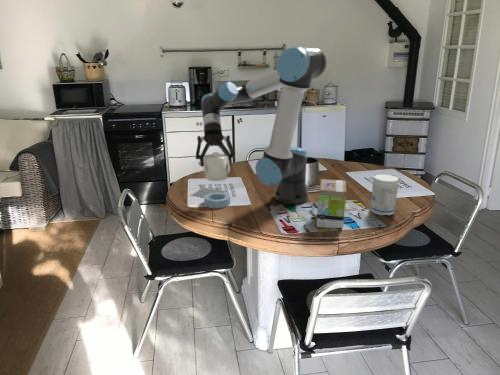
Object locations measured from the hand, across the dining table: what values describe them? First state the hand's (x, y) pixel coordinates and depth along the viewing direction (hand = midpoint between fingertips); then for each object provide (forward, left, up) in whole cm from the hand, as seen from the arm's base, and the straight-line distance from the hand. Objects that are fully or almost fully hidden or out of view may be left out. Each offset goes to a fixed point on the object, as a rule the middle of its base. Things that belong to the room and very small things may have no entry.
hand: (217, 172), depth 169 cm
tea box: (-46, -6, -15) cm, 49 cm away
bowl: (+2, -3, -15) cm, 16 cm away
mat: (+12, -13, -15) cm, 23 cm away
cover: (+2, -3, -3) cm, 5 cm away
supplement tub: (-63, -24, -15) cm, 69 cm away
